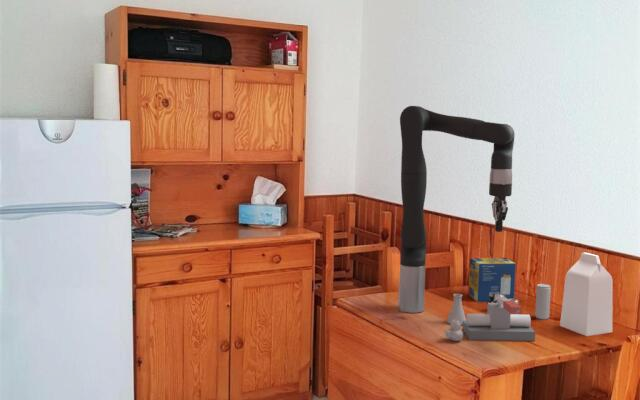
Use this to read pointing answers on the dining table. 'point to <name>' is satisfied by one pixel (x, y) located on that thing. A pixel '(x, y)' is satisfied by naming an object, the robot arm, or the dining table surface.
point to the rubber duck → (454, 331)
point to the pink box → (508, 304)
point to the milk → (587, 297)
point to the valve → (496, 301)
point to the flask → (457, 310)
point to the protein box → (491, 278)
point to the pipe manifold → (498, 325)
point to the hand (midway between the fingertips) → (498, 231)
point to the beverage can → (542, 301)
